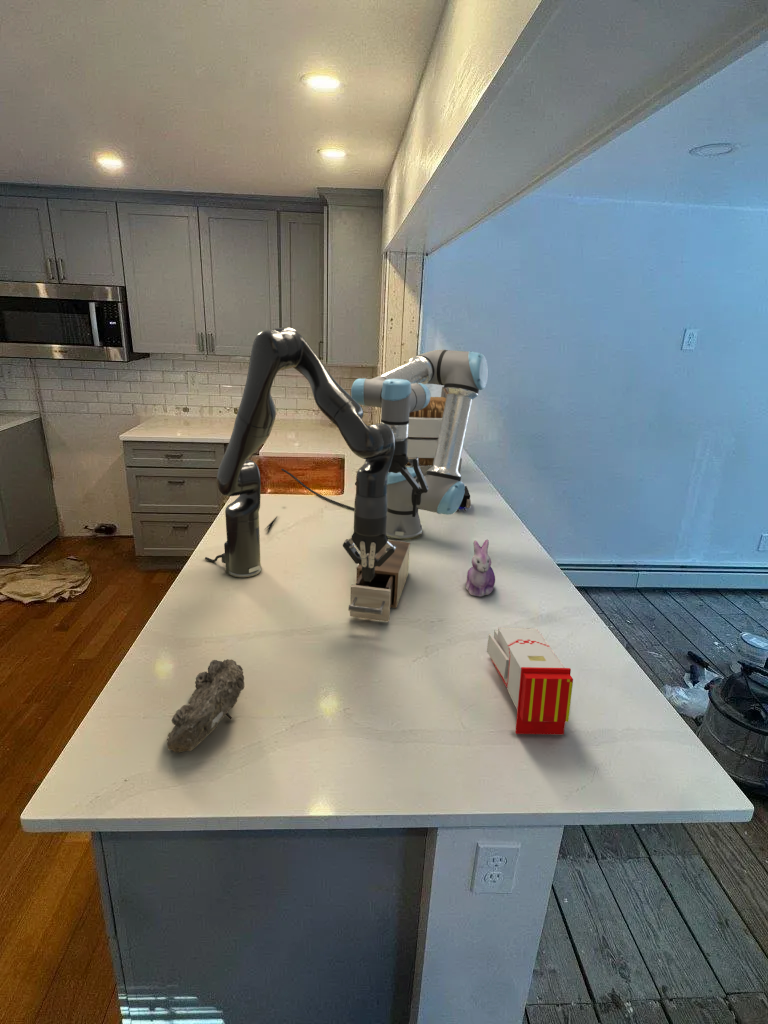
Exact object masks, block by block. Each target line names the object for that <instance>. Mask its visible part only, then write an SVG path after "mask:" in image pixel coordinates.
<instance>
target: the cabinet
mask: <svg viewBox="0 0 768 1024" xmlns="http://www.w3.org/2000/svg"><path fill="white" fill-rule="evenodd" d="M388 542H389V543H391V544H392V545H395V546H396V549H395V551H394V553H393V554H392V555H391V556H390V557H389V558H388V559H387V560H386V561H385V562H384V563H383V564H382V565H381V566H380V567H378V566H375V573H380V574H388V575H395V590H394V599H393V602H392V604H391V607H390V608H393V609H397V608H398V605H399V603H400V599H401V596H402V594H403V590H404V588H405V584H406V582H407V579H408V576H409V569H410V554H411V553H410V551H411V542H408V541H407V542H406V541H401V540H392V539H388ZM385 548H386V546H384V547H383V548H382V549H381V550H380V551H379V552H378V553H377V556H376V559H379V558H380V557H381V556H382V555H383V554H384V553H385ZM369 556H370V554H369ZM368 564H369V562H368ZM361 573H362V566H361V565H360V564H357V567H356V577H355V578H356V581H355V583H356V582H357V580H358V578H359V576H360V575H361Z"/></svg>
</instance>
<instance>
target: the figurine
mask: <svg viewBox="0 0 768 1024" xmlns="http://www.w3.org/2000/svg"><path fill="white" fill-rule="evenodd" d="M489 545H490V541H489V539H486V540H484V542H483V543H482V545H480V543H479V542H478V541H477V540H473V556H472V558H471V564H472V566H471V567H470V568H469V569H468V570H467V573H466V581H465V589H466V590H467V592H468V593H469V595H471V596H474V597H484V596H488V595H490V594H491V593H492V592H493V590H494V587H495V583H496V575H495V572H494V569H493V568H492V563H493V562H492V559H491V556H490V555H489Z"/></svg>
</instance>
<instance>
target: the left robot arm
mask: <svg viewBox="0 0 768 1024" xmlns="http://www.w3.org/2000/svg"><path fill="white" fill-rule="evenodd" d="M291 368H292V369H294V370H296V371H297V372H298V373H300V374H301V375H302V376H303V377H304V378H305V379H306V381H307V382H308V385H309V386H310V390H311V393H312V396H313V401H314V402H315V405H317V407H318V409H319V410H320V412H321V413H322V414H323V415H324V416H325V417H326V418H327V419H328V420H329V421H330V422H331V423H332V424H333V426H335V427H336V428H337V429H338V431H339V433H340V434H341V436H342V438H343V440H344V441H345V443H346V445H347V447H348V448H349V450H350V451H351V452H352V453H353V454H354V455H355V456H357V457H358V458H360V459H363V460H364V463H363V464H362V466H361V467H359V468H358V469H357V472H356V476H355V482H356V485H355V497H354V503H353V505H354V506H353V508H354V510H353V531H352V532H353V533H352V535H351V537H349V538H348V539H347V538H346V539H345V540H344V541H343V543H342V547H343V549H344V550H345V551H346V553H347V554H348V556H349V557H350V558H351V560H352V562H353V563H354V564H356V565H359V564H360V565H361V566H362V578H363V579H364V581H369V582H370V581H371V579H372V580H373V578H374V575H375V566H378V567H380V566H381V565H382V564H383V563H384V562H385V561H386V560H387V559H388V558H389V557H390V556H391V555H392V554H393V553H394V551H395V549H396V546H395V545H392V544H391V543H389V542H388V540H389V538H388V537H387V535H386V524H387V512H388V507H387V476H388V473H389V469H390V466H391V462H392V458H393V454H394V449H395V438H394V434H393V431H392V430H391V428H390V427H389V426H388V425H386V424H383V423H381V422H377V423H373V424H369V425H367V424H366V423H365V422H364V420H363V417H364V409H363V408H362V405H360V404H358V403H357V402H356V401H355V400H354V399H353V398H352V397H351V394H349V392H347V391H346V390H345V389H344V388H343V387H342V386H341V385H340V384H339V383H338V382H337V381H336V379H335V378H334V377H333V376H332V374H330V372H329V371H328V369H327V368H326V366H325V365H324V364H323V362H322V361H321V360H320V358H319V357H318V356H317V354H316V352H315V351H314V349H312V347H311V346H310V345H309V343H308V342H307V339H305V338H304V337H303V336H302V334H301V333H300V332H299V331H297V329H295V328H293V327H290V326H284V327H282V326H281V327H275V328H270V329H265V330H262V331H260V332H259V333H258V334H257V335H256V336H255V338H254V340H253V343H252V347H251V351H250V358H249V363H248V370H247V376H246V380H245V385H244V389H243V392H242V397H241V401H240V404H239V407H238V409H237V410H238V411H237V413H236V416H235V419H234V425H233V428H232V433H231V434H230V439H229V442H228V444H227V447H226V450H225V452H224V454H223V456H222V458H221V461H220V464H219V466H218V469H217V473H216V474H217V475H216V486H217V488H218V492H220V493H221V494H222V495H223V496H225V497H236V496H238V497H237V498H236V499H235V500H234V501H232V502H231V503H229V504H228V505H227V506H226V507H225V509H224V513H225V515H224V517H225V527H226V529H225V530H226V531H225V532H226V541H225V542H224V543H223V547H224V548H223V549H224V552H223V553H221V554H218V555H216V556H215V558H214V559H212V558H210V557H208V556H205V557H204V560H206V561H209V562H210V563H216V562H217V561H218V559H220V558H221V564H222V563H223V564H225V565H224V566H225V567H224V568H225V574H228V575H230V576H231V577H233V578H234V577H235V578H252V577H255V576H257V575H259V574H260V573H261V571H262V566H261V565H262V564H261V539H260V535H261V534H260V509H261V493H262V492H261V491H262V480H261V479H262V477H261V471H260V469H259V466H258V464H257V463H256V462H255V461H254V460H252V459H249V458H250V457H251V456H252V455H254V453H256V452H257V450H259V449H260V447H262V446H263V445H264V444H265V443H266V441H267V440H268V439H269V437H270V435H271V432H272V429H273V427H274V423H275V421H276V418H277V417H276V416H277V411H276V405H275V402H274V399H273V397H272V387H273V384H274V380H275V378H276V377H277V374H278V373H279V372H281V371H285V370H288V369H291ZM384 546H386V548H385V553H384V554H383V555H382V556H381V557H380V558H379V559H376V556H377V553H378V552H379V551H380V550H381V549H382V548H383V547H384ZM359 551H360V553H359ZM369 554H370V556H369ZM368 562H369V564H368Z"/></svg>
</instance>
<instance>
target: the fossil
mask: <svg viewBox="0 0 768 1024" xmlns="http://www.w3.org/2000/svg"><path fill="white" fill-rule="evenodd" d="M243 670H244V669H243V667H242V665H240V664H237V662H236V661H235V660H234V659H232V658H231V659H227V658H226V659H224V660H223V661H222V660H217V659H212V660H211V661H210V663H209V665H208V666H207V671H201V672H199V673H198V674H197V675H196V676H195V680H194V684H195V685H194V687H195V689H194V690H193V693H192V694H191V697H190V698H189V700H188V704H184V705H182V706H181V707H180V709H177V710H176V711H175V713H174V715H173V716H172V718H171V723H172V724H173V727H172V730H171V731H170V732H168V734H167V738H166V741H167V742H166V745H167V749H168V750H169V751H173V752H174V753H176V754H178V753H182V752H188V751H189V752H192V751H193V750H195V748H196V747H197V746H199V744H200V743H201V742H203V741H204V740H205V739H206V738H207V737H208V736H209V735H210V734H211V733H212V732H214V730H215V729H217V727H218V726H219V724H220V722H221V721H222V720H223V719H224V718H225V716H226V717H227V719H229V720H233V717H232V715H230V714H229V710H230V709H231V708H234V706H235V704H236V703H237V702H238V699H239V697H240V695H241V693H242V691H243V690H245V689H244V688H245V675H244V671H243Z"/></svg>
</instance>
